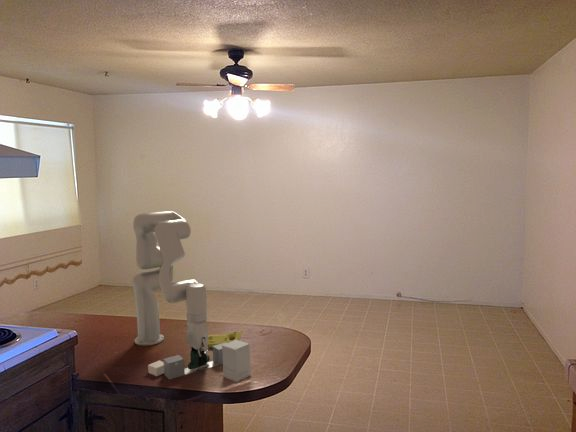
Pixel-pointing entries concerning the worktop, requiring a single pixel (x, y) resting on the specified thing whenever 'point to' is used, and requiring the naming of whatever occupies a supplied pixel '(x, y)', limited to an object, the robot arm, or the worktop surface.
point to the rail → (209, 364)
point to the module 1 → (174, 367)
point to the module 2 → (218, 353)
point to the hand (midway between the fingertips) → (198, 362)
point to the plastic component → (223, 338)
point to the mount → (195, 360)
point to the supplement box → (236, 360)
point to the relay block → (156, 368)
